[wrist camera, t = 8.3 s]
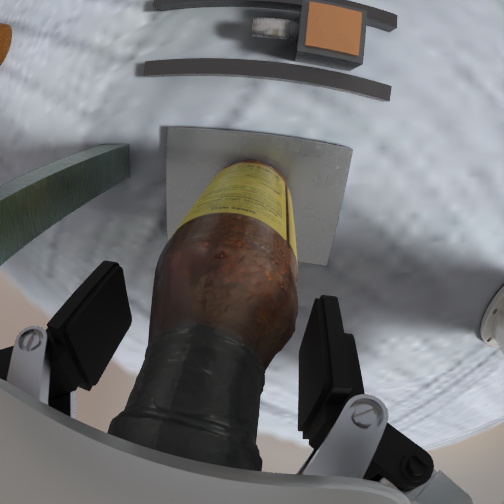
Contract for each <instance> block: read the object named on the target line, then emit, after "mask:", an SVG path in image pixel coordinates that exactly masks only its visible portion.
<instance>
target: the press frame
mask: <svg viewBox="0 0 504 504" xmlns="http://www.w3.org/2000/svg"><path fill="white" fill-rule="evenodd" d="M302 1H303V0H154V3H153V6H154V7H155V8H157V9H159V10H160V11H165V10H173V9H183V8H197V7H224V6H234V7H262V8H275V9H285V10H293V11H301V7H302ZM321 1H327V2H332V3H337V4H341V5H346V6H350V7H354V8H358V9H362V10H365V11H367V20H366V25H368V26H371V27H375V28H378V29H381V30H385V31H388V32H391V31H392V30H394V29H396V28H397V15H395V14H393V13H390V12H387V11H384V10H380V9H377V8H374V7H370V6H367V5H363V4H360V3H356V2H352V1H347V0H321ZM144 76H148V77H164V76H231V77H247V78H259V79H270V80H278V81H286V82H294V83H300V84H307V85H313V86H318V87H324V88H329V89H334V90H339V91H343V92H348V93H352V94H356V95H360V96H364V97H368V98H372V99H376V100H379V101H390V94H391V86H389V85H386V84H382V83H379V82H375V81H372V80H368V79H364V78H360V77H356V76H352V75H348V74H344V73H339V72H334V71H329V70H324V69H319V68H313V67H307V66H301V65H294V64H286V63H278V62H269V61H258V60H243V59H215V58H200V59H171V60H157V61H146V62H145V71H144ZM352 151H353V149H351V148H349V147H345V146H340V145H335V144H329V143H324V142H318V141H313V140H307V139H301V138H294V137H287V136H280V135H273V134H264V133H256V132H246V131H236V130H223V129H209V128H188V127H170V128H167V153H166V215H167V242H168V241H169V239H170V238H171V236H172V235H173V233H174V232H175V230H176V229H177V227H178V226H179V225H180V223H181V222H182V220H183V219H184V217H185V216H186V215H187V213H188V212H189V210H190V209H191V208H192V206H193V205H194V203H195V202H196V201H197V199H198V198H199V197H200V195H201V194H202V193H203V191H204V190H205V189H206V187H207V186H208V185H209V183H210V182H211V181H212V179H213V178H214V177H215V176H216V175H217V174H218V173H219V172H220V171H222V170H223V169H224V168H225V167H227V166H230V165H232V164H234V163H237V162H243V161H249V160H254V161H259V162H261V163H264V164H266V165H268V166H271V167H272V168H274V169H275V170H277V171H278V172H279V173H280V174H281V175H282V177H283V178H284V179H285V182H286V185H287V187H288V188H289V191H290V194H291V199H292V208H293V217H294V227H295V238H296V249H297V260H298V262H304V263H311V264H318V265H325V266H327V263H328V259H329V255H330V251H331V247H332V243H333V239H334V235H335V231H336V227H337V223H338V219H339V214H340V210H341V206H342V201H343V197H344V192H345V187H346V182H347V177H348V172H349V167H350V162H351V157H352ZM129 177H130V164H129V144H102V145H98V146H95V147H92V148H89V149H87V150H84V151H81V152H78V153H75V154H72V155H70V156H67V157H64V158H62V159H59V160H57V161H54V162H52V163H49V164H47V165H44V166H42V167H40V168H37V169H35V170H33V171H31V172H28V173H26V174H24V175H22V176H20V177H18V178H15V179H13V180H11V181H9V182H7V183H5V184H3V185H1V186H0V266H1V265H2V264H3V263H4V262H5V261H7V260H8V259H9V258H10V257H11V256H13V255H14V254H15V253H16V252H18V251H19V250H20V249H21V248H23V247H24V246H25V245H27V244H28V243H29V242H30V241H32V240H33V239H34V238H36V237H37V236H38V235H40V234H41V233H43V232H44V231H45V230H47V229H48V228H50V227H51V226H52V225H54V224H55V223H57V222H58V221H60V220H61V219H62V218H64V217H65V216H67V215H68V214H70V213H71V212H73V211H74V210H76V209H77V208H79V207H81V206H82V205H84V204H85V203H87V202H88V201H90V200H92V199H93V198H95V197H96V196H98V195H100V194H101V193H103V192H105V191H106V190H108V189H110V188H111V187H113V186H115V185H117V184H118V183H120V182H122V181H124V180H125V179H127V178H129Z"/></svg>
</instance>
